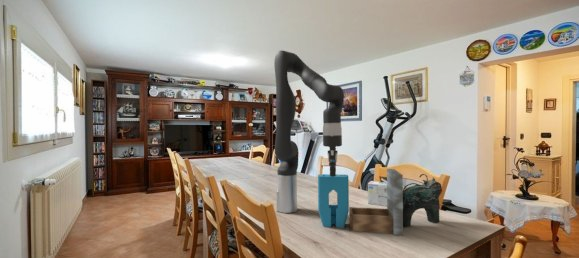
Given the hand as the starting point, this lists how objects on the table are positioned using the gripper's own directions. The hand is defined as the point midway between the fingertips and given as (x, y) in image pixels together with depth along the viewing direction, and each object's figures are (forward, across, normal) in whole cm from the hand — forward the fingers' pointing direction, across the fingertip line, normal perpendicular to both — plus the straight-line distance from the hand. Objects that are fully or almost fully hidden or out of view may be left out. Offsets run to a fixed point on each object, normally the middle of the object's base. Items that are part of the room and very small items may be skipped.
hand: (333, 174), depth 108 cm
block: (+21, 0, 0) cm, 21 cm away
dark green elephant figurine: (+21, -7, +35) cm, 41 cm away
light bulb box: (+21, -34, +23) cm, 46 cm away
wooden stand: (+21, 0, +16) cm, 26 cm away
